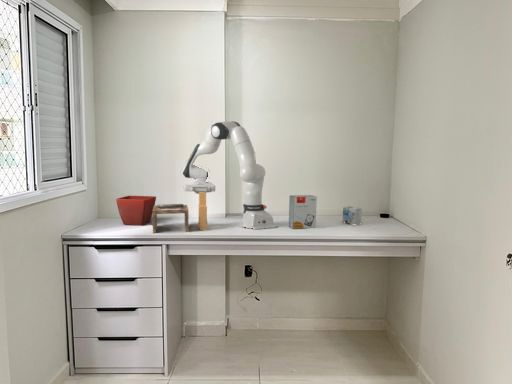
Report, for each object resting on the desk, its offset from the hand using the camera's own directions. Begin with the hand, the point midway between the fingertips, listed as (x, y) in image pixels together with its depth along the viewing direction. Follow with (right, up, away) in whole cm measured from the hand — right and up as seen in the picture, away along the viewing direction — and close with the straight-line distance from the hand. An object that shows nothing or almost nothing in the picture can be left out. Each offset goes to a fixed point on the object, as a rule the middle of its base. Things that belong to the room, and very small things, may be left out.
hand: (200, 189), depth 237 cm
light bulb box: (+99, -23, +10) cm, 102 cm away
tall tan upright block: (+3, -23, -9) cm, 25 cm away
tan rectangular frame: (-16, -24, -13) cm, 32 cm away
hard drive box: (+64, -24, -4) cm, 69 cm away
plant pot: (-41, -22, +2) cm, 47 cm away
